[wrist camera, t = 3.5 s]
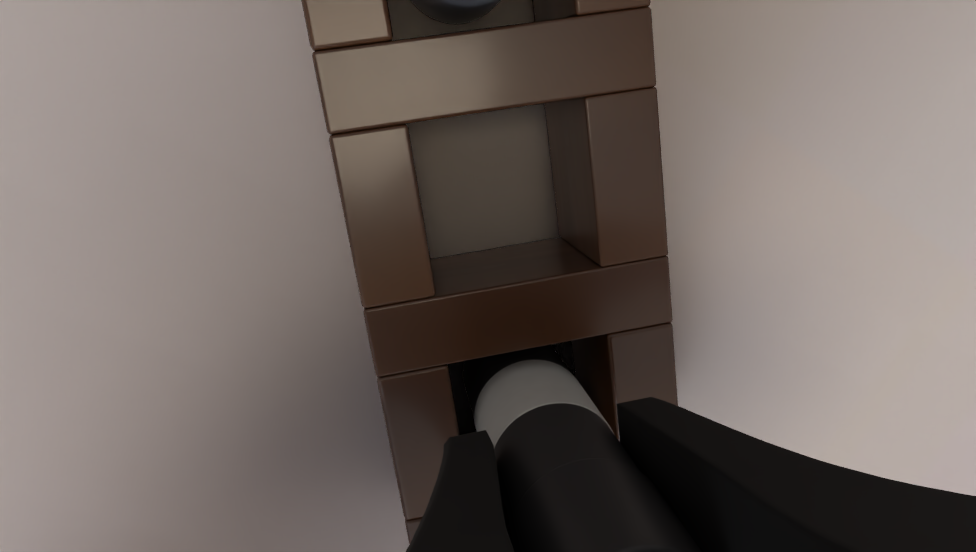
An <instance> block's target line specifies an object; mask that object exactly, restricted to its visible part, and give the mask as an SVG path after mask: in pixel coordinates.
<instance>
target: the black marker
mask: <svg viewBox="0 0 976 552" xmlns="http://www.w3.org/2000/svg"><path fill="white" fill-rule="evenodd" d="M463 382H464V386H465V389H466V393H467V396H468V400H469V403H470V407H471V410H472V414H473V417H474V421H475V427H476V431H477V432H479V431H484V430H486V431H487V433H488V435H489V437H490V439H491V441H492V443H493V445H494V452H495V458H496V465H497V471H498V478H499V484H500V491H501V498H502V504H503V511H504V517H505V524H506V529H507V532H508V535H509V537H510V540H511V543H512V546H513V549H514V552H702V551H701V550H700V548H699V547H698V546H697V544H696V543H695V541H694V540H693V539H692V537H691V536H690V534H689V533H688V532H687V530H686V529H685V528H684V526H683V525H682V523H681V522H680V521H679V519H678V518H677V516H676V515H675V514H674V512H673V511H672V509H671V508H670V507H669V505H668V504H667V502H666V501H665V500H664V498H663V497H662V495H661V494H660V493H659V491H658V490H657V488H656V487H655V486H654V484H653V483H652V482H651V481H650V480H649V478H648V477H647V476H646V475H644V474H643V473H642V472H640V470H639V469H638V468H637V466H636V465H635V463H634V462H633V460H632V459H631V458H630V456H629V455H628V453H627V452H626V450H625V449H624V448H623V446H622V445H621V443H620V442H619V441H618V439H617V438H616V436H615V435H614V433H613V431H612V429H611V427H610V426H609V424H608V423H607V421H606V420H605V419H604V417H603V416H602V414H601V413H600V411H599V410H598V409H597V407H596V406H595V404H594V403H593V402H592V400H591V399H590V397H589V396H588V395H587V393H586V392H585V390H584V389H583V387H582V386H581V385H580V383H579V382H578V380H577V379H576V378H575V377H574V376H573V374H572V373H571V372H570V371H569V369H568V368H567V367H566V365H565V364H564V362H563V361H562V359H561V358H560V357H559V355H558V354H557V352H556V351H555V349H554V348H553V347H552V345H546V346H540V347H535V348H530V349H524V350H519V351H514V352H508V353H503V354H498V355H493V356H487V357H482V358H477V359H471V360H466V361H464V365H463Z"/></svg>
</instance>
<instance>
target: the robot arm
mask: <svg viewBox="0 0 976 552" xmlns="http://www.w3.org/2000/svg"><path fill="white" fill-rule="evenodd" d="M616 405H617V416H618V426H619V437H620V443H621V445H622V446H623V448H624V449H625V450H626V452H627V453H628V455H629V456H630V458H631V459H632V460H633V462H634V463H635V465H636V466H637V468H638V469H639V470H640V472H642V473H643V474H644V475H646V476H647V477H648V478H649V480H650V481H651V482H652V483H653V484H654V486H655V487H656V488H657V490H658V491H659V493H660V494H661V495H662V497H663V498H664V500H665V501H666V502H667V504H668V505H669V507H670V508H671V509H672V511H673V512H674V514H675V515H676V516H677V518H678V519H679V521H680V522H681V523H682V525H683V526H684V528H685V529H686V530H687V532H688V533H689V534H690V536H691V537H692V539H693V540H694V541H695V543H696V544H697V546H698V547H699V548H700V550H701V551H702V552H976V496H971V495H965V494H959V493H954V492H949V491H944V490H938V489H933V488H928V487H923V486H917V485H912V484H908V483H903V482H899V481H894V480H890V479H886V478H881V477H878V476H874V475H870V474H866V473H863V472H859V471H855V470H851V469H848V468H844V467H840V466H836V465H833V464H830V463H826V462H823V461H820V460H816V459H813V458H810V457H807V456H804V455H801V454H799V453H796V452H793V451H790V450H787V449H784V448H781V447H778V446H775V445H773V444H770V443H767V442H765V441H762V440H759V439H757V438H754V437H751V436H749V435H746V434H744V433H741V432H739V431H736V430H734V429H731V428H729V427H727V426H724V425H722V424H719V423H717V422H714V421H712V420H710V419H707V418H705V417H703V416H700V415H698V414H695V413H693V412H691V411H688V410H686V409H684V408H681V407H679V406H676V405H674V404H671V403H669V402H666V401H663V400H660V399H657V398H654V397H648V398H643V399H638V400H633V401H628V402H623V403H618V404H616ZM406 552H514V549H513V546H512V543H511V540H510V537H509V535H508V532H507V529H506V524H505V517H504V511H503V504H502V498H501V491H500V484H499V478H498V471H497V465H496V458H495V452H494V445H493V443H492V441H491V439H490V437H489V435H488V433H487V431H486V430H484V431H479V432H474V433H469V434H464V435H459V436H454V437H449V439H448V440H447V441H446V443H445V444H444V452H443V458H442V463H441V467H440V470H439V474H438V477H437V481H436V484H435V486H434V489H433V492H432V495H431V497H430V500H429V503H428V506H427V508H426V511H425V513H424V515H423V517H422V519H421V522H420V524H419V526H418V528H417V530H416V532H415V534H414V537H413V539H412V541H411V543H410V545H409V547H408V549H407V551H406Z"/></svg>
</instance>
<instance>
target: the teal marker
mask: <svg viewBox="0 0 976 552" xmlns="http://www.w3.org/2000/svg"><path fill="white" fill-rule="evenodd" d="M411 1H412V2H413V3H414V5H415V6H416V7H417V8H418V9H419V10H421V11H422V12H423V13H424V14H426V15H427V16H429V17H431V18H433V19H435V20H438V21H440V22H444V23H450V24H463V23H468V22H471V21H474V20H477V19H478V18H480V17H482V16H484V15H485V14H487V13H488V12H489V11H490V10H491V9H492V8H493V7H495V6H496V5H497V4H498V3H499V2H500V1H501V0H411Z"/></svg>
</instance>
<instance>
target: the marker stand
mask: <svg viewBox="0 0 976 552" xmlns="http://www.w3.org/2000/svg"><path fill="white" fill-rule="evenodd" d="M533 4H534V13H535V22H530V23H522V24H515V25H507V26H500V27H492V28H485V29H477V30H470V31H462V32H455V33H447V34H440V35H432V36H425V37H417V38H410V39H402V40H395V41H392V38H393V33H392V27H391V21H390V15H389V9H388V3H387V0H302V6H303V11H304V16H305V21H306V26H307V31H308V36H309V41H310V46H311V48H312V49H313V50H314V51H315V52H313V55H312V57H313V62H314V67H315V72H316V77H317V82H318V87H319V92H320V97H321V102H322V107H323V112H324V117H325V122H326V127H327V132H328V133H329V134H331V136H330V137H329V142H330V147H331V152H332V157H333V162H334V167H335V172H336V177H337V182H338V187H339V192H340V197H341V202H342V207H343V212H344V217H345V222H346V227H347V232H348V237H349V242H350V247H351V252H352V257H353V262H354V267H355V272H356V277H357V282H358V287H359V292H360V298H361V303H362V306H363V307H364V311H363V313H364V318H365V323H366V328H367V333H368V338H369V343H370V348H371V353H372V358H373V363H374V368H375V373H376V376H377V383H378V388H379V393H380V398H381V403H382V408H383V413H384V418H385V423H386V428H387V433H388V438H389V443H390V448H391V453H392V458H393V463H394V468H395V473H396V478H397V483H398V488H399V493H400V498H401V503H402V508H403V513H404V517H405V524H406V529H407V534H408V539H409V544H410V543H411V541H412V539H413V537H414V534H415V532H416V530H417V528H418V526H419V524H420V522H421V519H422V517H423V515H424V513H425V511H426V508H427V506H428V503H429V500H430V497H431V495H432V492H433V489H434V486H435V484H436V481H437V477H438V474H439V470H440V467H441V463H442V458H443V452H444V444H445V443H446V441H447V440H448V439H449V437H454V436H459V435H460V434H459V428H458V423H457V417H456V411H455V405H454V399H453V393H452V387H451V381H450V375H449V369H448V364H450V363H455V362H461V361H466V360H471V359H477V358H482V357H487V356H493V355H498V354H503V353H508V352H514V351H519V350H524V349H530V348H535V347H540V346H546V345H551V344H556V343H562V342H567V341H572V349H573V358H574V367H575V376H576V379H577V380H578V382H579V383H580V385H581V386H582V387H583V389H584V390H585V392H586V393H587V395H588V396H589V397H590V399H591V400H592V402H593V403H594V404H595V406H596V407H597V409H598V410H599V411H600V413H601V414H602V416H603V417H604V419H605V420H606V421H607V423H608V424H609V426H610V427H611V429H612V431H613V433H614V435H615V436H616V438H617V439H618V441H619V442H620V437H619V426H618V416H617V405H616V404H618V403H623V402H628V401H633V400H638V399H643V398H648V397H654V398H657V399H660V400H663V401H666V402H669V403H671V404H674V405H676V406H678V401H677V386H676V372H675V357H674V343H673V328H672V324H671V321H672V307H671V292H670V278H669V263H668V257H667V256H666V255H668V246H667V232H666V217H665V203H664V188H663V174H662V159H661V145H660V130H659V115H658V101H657V89H656V88H655V87H654V86H656V75H655V61H654V46H653V32H652V17H651V9H650V7H648V6H649V5H650V0H533ZM543 103H545V112H546V121H547V130H548V139H549V148H550V157H551V166H552V174H553V183H554V192H555V201H556V210H557V219H558V228H559V235H560V237H559V238H553V239H547V240H541V241H536V242H530V243H524V244H518V245H512V246H506V247H500V248H495V249H489V250H483V251H477V252H471V253H465V254H459V255H453V256H448V257H442V258H436V259H430V255H429V249H428V243H427V237H426V231H425V225H424V219H423V213H422V207H421V201H420V195H419V189H418V183H417V177H416V171H415V165H414V159H413V153H412V147H411V141H410V135H409V129H408V126H407V125H406V124H407V123H414V122H421V121H428V120H434V119H441V118H448V117H455V116H461V115H468V114H475V113H482V112H489V111H495V110H502V109H509V108H516V107H523V106H529V105H536V104H543ZM472 433H474V432H472ZM467 434H469V433H467ZM462 435H464V434H462Z"/></svg>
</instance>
